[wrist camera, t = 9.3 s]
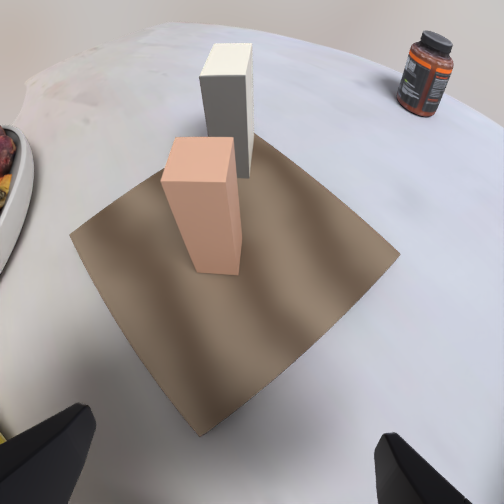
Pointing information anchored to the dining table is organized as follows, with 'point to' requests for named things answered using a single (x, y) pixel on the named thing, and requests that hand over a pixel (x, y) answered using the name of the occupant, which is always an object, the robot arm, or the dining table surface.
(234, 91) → the white rectangular block
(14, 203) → the bowl
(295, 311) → the brown square mat
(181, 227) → the salmon pink tall block
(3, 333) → the dining table surface
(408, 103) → the supplement bottle
